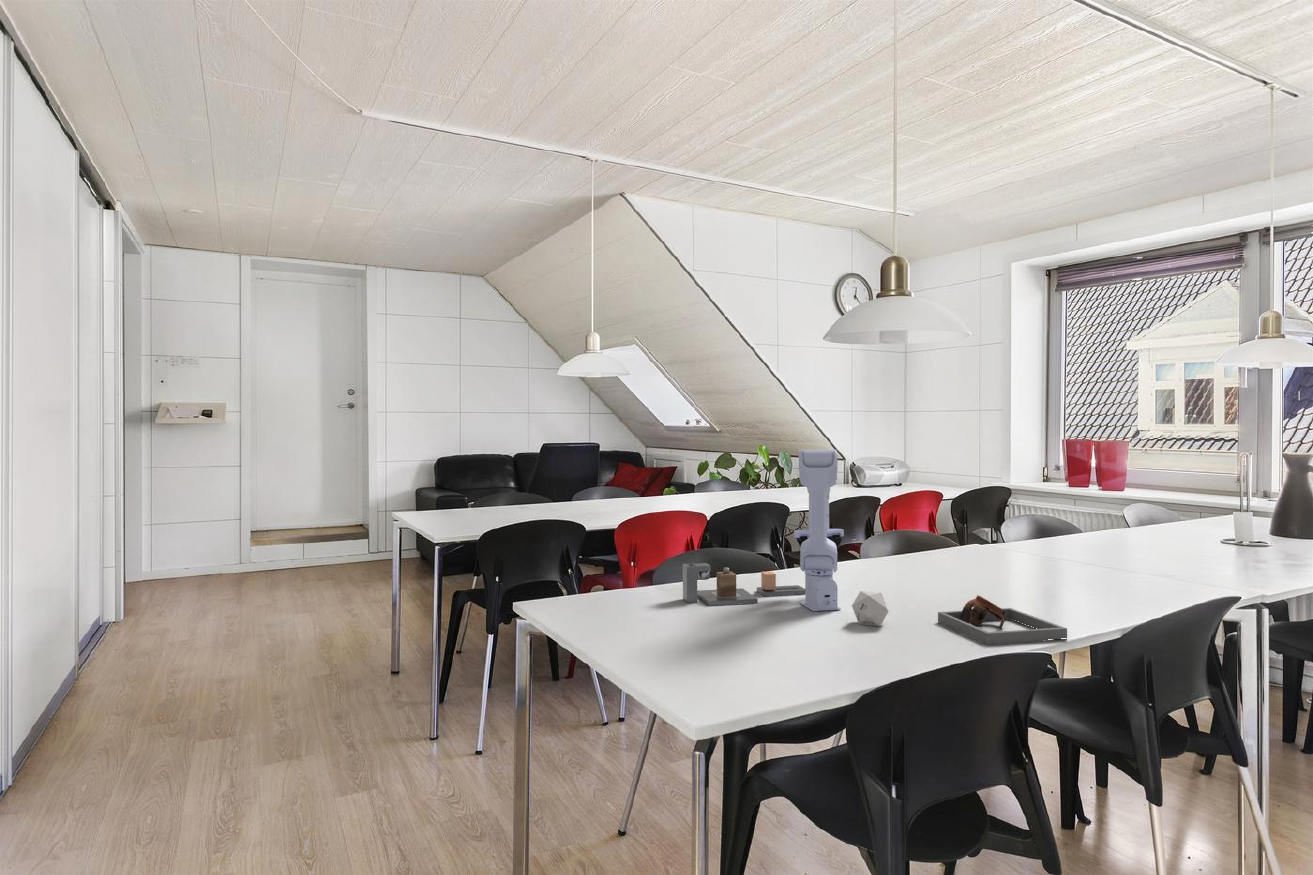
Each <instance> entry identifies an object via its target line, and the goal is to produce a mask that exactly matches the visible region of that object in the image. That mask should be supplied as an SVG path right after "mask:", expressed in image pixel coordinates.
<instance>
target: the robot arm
mask: <svg viewBox="0 0 1313 875" xmlns="http://www.w3.org/2000/svg"><path fill="white" fill-rule="evenodd" d="M798 473H799V474H798V475H799V476H798V477H799V481H800V482H799V483H800V485H801V486H803V487H805V488H806V489H807V493H808V528H807V529H800V530H799V529H798V530H795V529H794V530H793V537H794V538H796V541H797V543H798V545H799V548H800V550H799V551H800V554H799V556H800V559H799V560H800V561H799V565H800V570H801V571H802V572H804V578H805V580H804V581H805V582H804V585H805V587H804V589H805V594H804V595H805V596H804V597H805V600H804V601H803V600H801V601H800V602H799V604H801V605H802V606H804V607H806V608H807V609H809V611H813V612H817V611H818V612H820V611H822V612H823V611H835V610H837V611H838V610H842V607H841V606H839V605H838V585H837V582H836V581H835V579H834V578H833V576H834V573H836V572H838V548H839V547H840V544H841V543H842V541H843V537H845V530H844V529H842V528H830V493H831V487H833V486H835V485H837V480H838V451H837V449H835V448H833V449H803V448H801V449H799V451H798Z"/></svg>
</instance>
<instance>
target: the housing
mask: <svg viewBox="0 0 1313 875" xmlns="http://www.w3.org/2000/svg"><path fill="white" fill-rule="evenodd" d="M722 570H723V571H716V590H717V594H718V595H720V596H721V597H723V596H736V589H737V574H736V573H735V572H733V571H730V568H729V567H723V569H722Z"/></svg>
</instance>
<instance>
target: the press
mask: <svg viewBox="0 0 1313 875" xmlns="http://www.w3.org/2000/svg"><path fill="white" fill-rule="evenodd" d="M711 569H712V566H711V564H709V563H707V562H701V563H693V562H692V563H682V599H683V601H684V602H685V603H686V604H692V603H698V598H699V599H700V600H702V601H703V603H704V604H706V605H707V606H708V607H711V606H714V607H715V606H728V605H729V606H730V605H731V606H732V605H746V604H758V601H759V599H758V597H756V596H754V595H753V594H751V593H750V592H748V591H747V590H746V589H744V588H736V596H723V597H721V596H720V595H718V594H717V589H705V590H704V589H703V590H699V589H698V580H702V581H707V580H710V572H711V571H712V570H711Z"/></svg>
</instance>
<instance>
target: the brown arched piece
mask: <svg viewBox="0 0 1313 875" xmlns="http://www.w3.org/2000/svg"><path fill="white" fill-rule="evenodd" d="M961 611H962V612H961V616H960V620H962V621H964V622H966V623H969V624H971V625H973V626H976V627H978V628H980V627H981V625H982V624H983V619H984V618H985V616H986V615H987V611H988V612H990V613H991V614H993V615H995V616H996V617H997V618H999V619H1000V624H999V629H1003V626H1004V624H1005V619H1004V617H1003V615H1004V613H1005V611H1004V610H1003V609H1001V607H1000V606H998V605H996V604H995V603H993V602H991V601H990V600H987V599H986V598H985V597H983V596H980V595H976V597H975V598H974V599H973V598H972V599H971V600H969V601H967V602H966V603H965V605H964V607H963V608H962V609H961Z"/></svg>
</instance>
